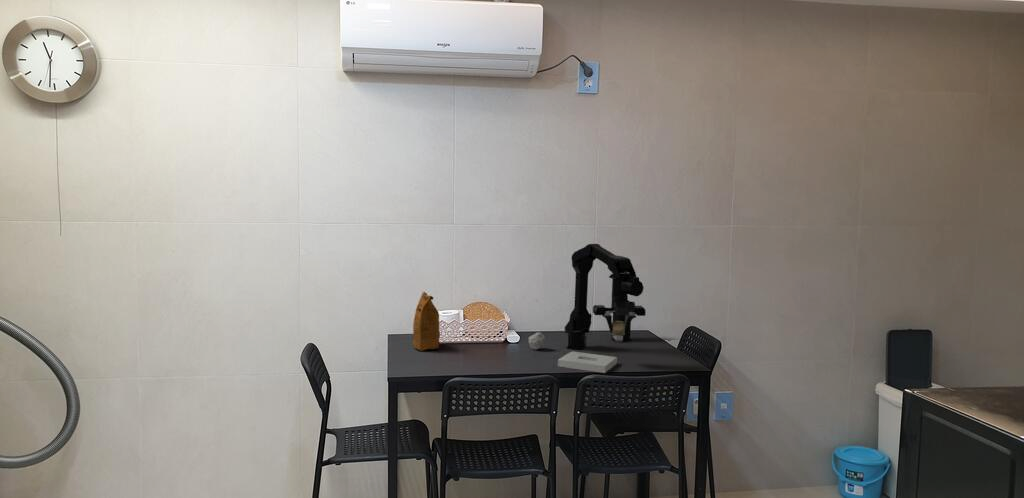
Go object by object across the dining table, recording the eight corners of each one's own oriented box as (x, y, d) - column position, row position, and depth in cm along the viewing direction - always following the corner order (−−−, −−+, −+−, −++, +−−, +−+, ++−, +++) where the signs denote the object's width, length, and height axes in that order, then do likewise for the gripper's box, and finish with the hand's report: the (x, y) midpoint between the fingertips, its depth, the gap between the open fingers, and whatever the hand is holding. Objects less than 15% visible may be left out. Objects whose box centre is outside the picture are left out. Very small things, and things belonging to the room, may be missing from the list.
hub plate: (557, 366, 263) (558, 359, 263) (571, 357, 275) (571, 351, 275) (604, 372, 255) (605, 366, 255) (616, 363, 268) (616, 357, 267)
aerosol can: (618, 343, 300) (620, 296, 298) (607, 338, 308) (608, 292, 306) (634, 341, 304) (636, 294, 302) (623, 337, 312) (624, 291, 309)
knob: (626, 341, 263) (626, 324, 262) (612, 341, 263) (613, 324, 262) (622, 337, 269) (623, 320, 268) (610, 337, 269) (610, 320, 268)
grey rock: (542, 352, 283) (542, 334, 282) (525, 350, 285) (525, 333, 285) (546, 348, 289) (547, 331, 288) (530, 347, 291) (530, 330, 290)
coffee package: (434, 343, 295) (434, 290, 292) (441, 350, 283) (441, 295, 281) (410, 344, 292) (410, 291, 289) (416, 352, 280) (416, 296, 277)
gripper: (598, 295, 256) (596, 338, 257) (649, 296, 256) (648, 338, 258) (593, 289, 267) (591, 331, 268) (642, 290, 267) (641, 331, 269)
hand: (618, 333), depth 266 cm, fingers closed on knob, 5 cm apart
